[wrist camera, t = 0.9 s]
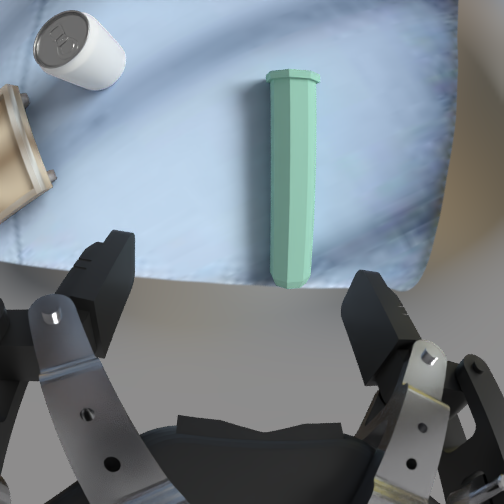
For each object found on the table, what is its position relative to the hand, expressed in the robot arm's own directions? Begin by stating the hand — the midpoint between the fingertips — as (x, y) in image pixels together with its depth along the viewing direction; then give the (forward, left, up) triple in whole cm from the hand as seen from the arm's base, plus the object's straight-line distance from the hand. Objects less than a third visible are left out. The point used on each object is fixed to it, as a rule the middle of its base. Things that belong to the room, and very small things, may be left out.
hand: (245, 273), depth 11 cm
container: (+3, +7, -26) cm, 28 cm away
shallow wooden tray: (-15, -24, -26) cm, 38 cm away
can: (-19, -8, -26) cm, 33 cm away
